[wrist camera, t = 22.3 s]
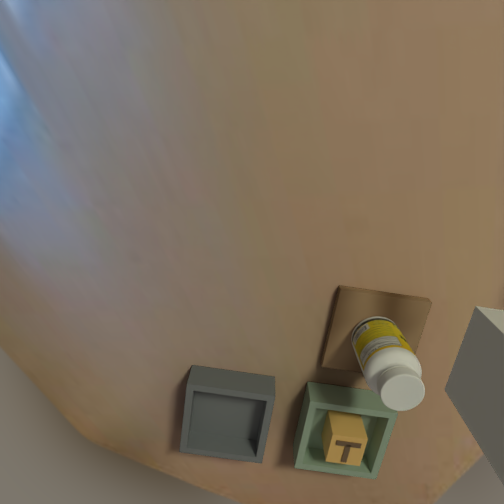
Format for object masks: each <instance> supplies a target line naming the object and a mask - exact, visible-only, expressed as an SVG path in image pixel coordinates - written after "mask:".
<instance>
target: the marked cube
mask: <svg viewBox="0 0 504 504" xmlns="http://www.w3.org/2000/svg"><path fill="white" fill-rule="evenodd" d="M321 437H322V443H323V449H324V455H325V461H326V462H333V463H340V464H348V465H355V466H360V464H361V460H362V457H363V454H364V451H365V447H366V444H367V441H368V438H367V434H366V431H365V428H364V424H363V421H362V418H361V414H355V413H348V412H341V411H334V410H328V411H327V415H326V419H325V423H324V427H323V430H322V434H321Z"/></svg>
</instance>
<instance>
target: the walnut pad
mask: <svg viewBox="0 0 504 504" xmlns="http://www.w3.org/2000/svg"><path fill="white" fill-rule="evenodd" d="M431 304H432V302H431V301H430V300H429V299H428V298H421V297H415V296H408V295H401V294H394V293H387V292H381V291H374V290H367V289H360V288H354V287H347V286H340V285H339V288H338V292H337V296H336V300H335V305H334V309H333V313H332V317H331V321H330V325H329V330H328V334H327V338H326V342H325V346H324V350H323V355H322V359H321V365H322V367H326V368H333V369H340V370H347V371H354V372H361V373H362V370H361V367H360V365H359V362H358V359H357V357H356V354H355V352H354V349H353V346H352V341H351V337H352V333H353V330H354V328H355V327H356V326H357V325H358V324H359V323H360V322H361V321H363V320H364V319H367V318H369V317H375V316H380V317H385V318H388V319H390V320H391V321H393V322H394V323H395V324H396V325H397V327H398V328H399V329H400V331H401V333H402V334H403V336H404V338H405V339H406V341H407V343H408V344H409V346H410V348H411V349H412V351H413V352H414V354H415V353H416V350H417V347H418V344H419V341H420V338H421V335H422V332H423V329H424V326H425V322H426V319H427V316H428V313H429V310H430V307H431Z"/></svg>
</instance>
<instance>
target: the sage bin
mask: <svg viewBox="0 0 504 504" xmlns="http://www.w3.org/2000/svg"><path fill="white" fill-rule="evenodd" d="M328 410H334V411H341V412H348V413H355V414H361V418H362V421H363V424H364V428H365V431H366V434H367V438H368V441H367V444H366V447H365V451H364V454H363V457H362V460H361V464H360V466H355V465H348V464H340V463H333V462H326V461H325V455H324V449H323V443H322V437H321V434H322V430H323V427H324V423H325V419H326V415H327V411H328ZM397 415H398V413H397V411H396V410H392V409H390V408H388V407H387V406H386V405H384V403H383V402H382V400H381V398H380V396H379V395H378V394H376V393H374V392H373V391H371V390H364V389H357V388H350V387H343V386H336V385H329V384H322V383H315V382H307V386H306V390H305V395H304V399H303V403H302V408H301V412H300V416H299V421H298V425H297V429H296V434H295V438H294V442H293V455H294V468H298V469H305V470H313V471H320V472H327V473H334V474H341V475H348V476H356V477H363V478H370V479H376V478H377V475H378V472H379V469H380V466H381V463H382V460H383V457H384V454H385V451H386V448H387V445H388V442H389V439H390V436H391V433H392V430H393V427H394V424H395V421H396V418H397Z"/></svg>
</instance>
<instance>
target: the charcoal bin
mask: <svg viewBox="0 0 504 504" xmlns="http://www.w3.org/2000/svg"><path fill="white" fill-rule="evenodd" d="M274 400H275V377H273V376H266V375H259V374H252V373H245V372H238V371H231V370H224V369H217V368H210V367H203V366H196V365H192V367H191V371H190V375H189V378H188V382H187V387H186V396H185V405H184V415H183V424H182V433H181V442H180V451H179V452H183V453H190V454H197V455H205V456H212V457H219V458H226V459H233V460H241V461H248V462H255V463H262V460H263V455H264V450H265V445H266V440H267V435H268V430H269V425H270V420H271V415H272V410H273V405H274Z"/></svg>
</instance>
